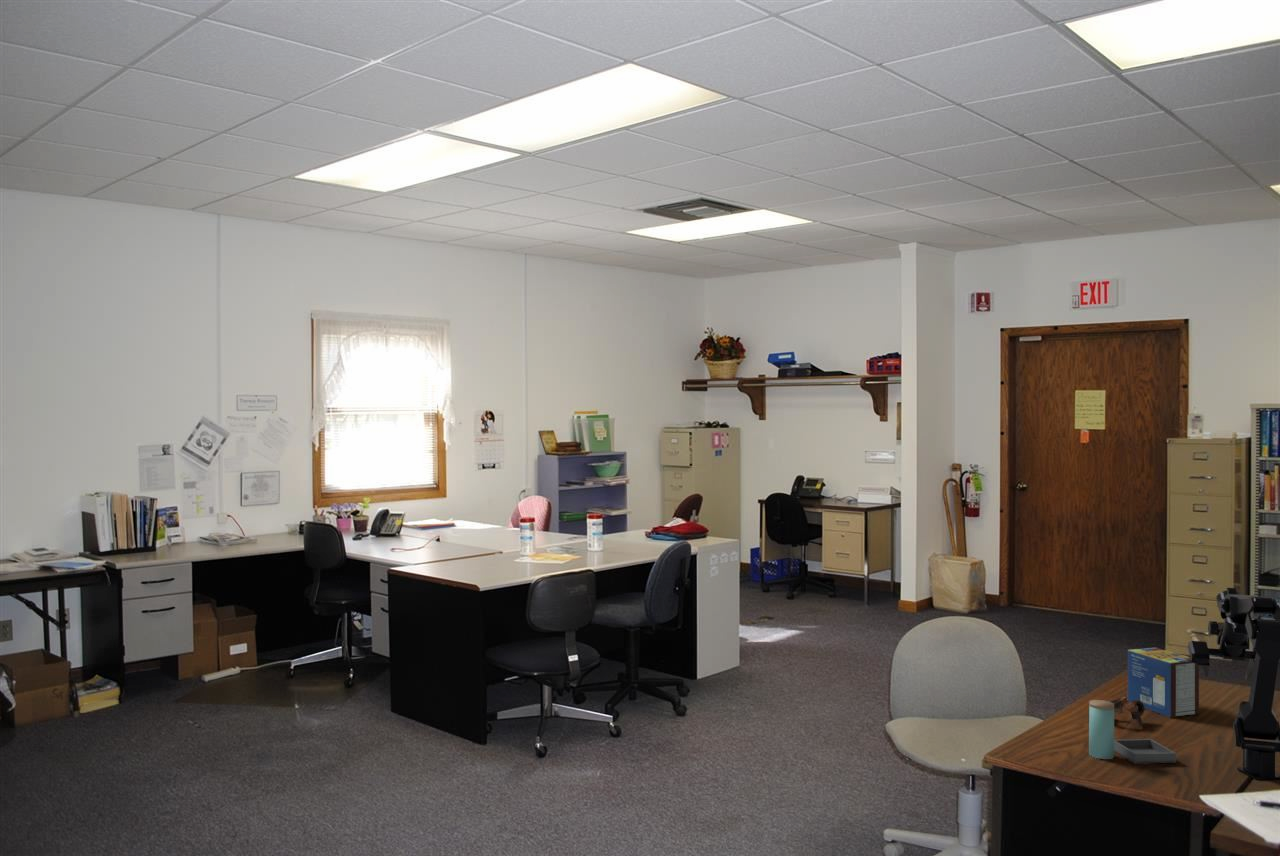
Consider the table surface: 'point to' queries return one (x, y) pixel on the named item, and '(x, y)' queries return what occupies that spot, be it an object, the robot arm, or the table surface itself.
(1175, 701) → the protein box
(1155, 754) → the tray
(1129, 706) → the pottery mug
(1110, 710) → the canister
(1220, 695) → the table surface
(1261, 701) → the robot arm
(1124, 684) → the table surface
